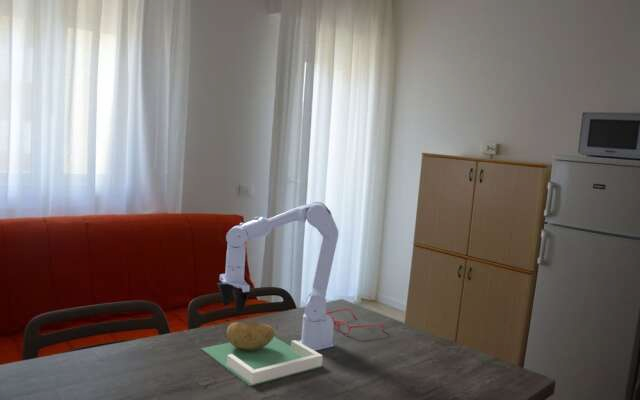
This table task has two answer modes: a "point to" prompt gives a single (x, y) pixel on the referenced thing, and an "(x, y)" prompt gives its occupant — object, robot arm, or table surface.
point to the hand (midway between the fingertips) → (232, 308)
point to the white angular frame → (277, 365)
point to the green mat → (255, 356)
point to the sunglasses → (348, 324)
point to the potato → (249, 335)
